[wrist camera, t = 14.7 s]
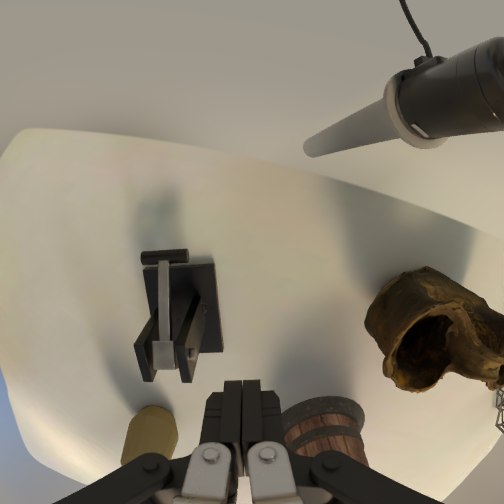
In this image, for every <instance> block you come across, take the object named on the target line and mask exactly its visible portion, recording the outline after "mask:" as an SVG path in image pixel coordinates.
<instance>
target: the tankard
mask: <svg viewBox="0 0 504 504" xmlns="http://www.w3.org/2000/svg"><path fill="white" fill-rule="evenodd" d="M281 416H282V424H283V431H284V439H285V444H286V446H287V447H288V449H290V450H291V451H292V452H294V453H296V454H298V455H302V456H309V457H314V456H316V455H317V454H318V453H320V452H323V451H327V450H336V451H340V452H342V453H344V454H346V455H348V456H350V457H351V458H353V459H355V460H357V461H358V462H360V463H362V464H364V465H365V466H367V467H369V464H368V461H367V458H366V455H365V452H364V443H363V440H362V437H361V435H360V432H361V430H362V428H363V425H364V421H365V415H364V412H363V409H362V408H361V407H360V405H359V404H357V403H356V402H355V401H353V400H350V399H348V398H344V397H338V396H327V397H318V398H314V399H310V400H307V401H304V402H301V403H299V404H297V405H295V406H293V407H291V408H289V409H288V410H286V411H285V412H284V413H282V414H281ZM369 468H370V467H369Z"/></svg>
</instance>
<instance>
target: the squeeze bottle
mask: <svg viewBox="0 0 504 504" xmlns="http://www.w3.org/2000/svg"><path fill="white" fill-rule="evenodd" d="M177 441H178V431H177V427H176V422H175V419H174V417H173V415H172V414H171V413H170V412H169V411H167V410H166V409H163V408H161V407H157V406H147V407H146V408H144V409H142V410H141V411H140V412H139V413H138V414H137V415H136V416H135V417H133V418H132V420H131V422H130V424H129V427H128V432H127V436H126V440H125V444H124V448H123V453H122V457H121V465H122V466H124V465H125V464H127V463H129V462H130V461H132V460H133V459H135V458H137V457H138V456H140V455H142V454H145V453H151V452H153V453H159V454H162V455H164V456H165V457H166V458H167V459H168V460H171V457H172V455H173V452H174V449H175V447H176V444H177Z"/></svg>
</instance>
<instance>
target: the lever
mask: <svg viewBox="0 0 504 504" xmlns="http://www.w3.org/2000/svg"><path fill="white" fill-rule="evenodd" d="M140 258H141V263H142V265H156V264H158V309H159V340H160V341H152V352H153V369H159V370H175V369H178V368H179V366H178V362H177V357H176V352H175V347H174V345H175V342H176V341H172V318H171V264H173V263H188V262H189V251H188V249H173V250H158V251H143V252H141V257H140Z"/></svg>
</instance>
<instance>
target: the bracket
mask: <svg viewBox="0 0 504 504" xmlns="http://www.w3.org/2000/svg"><path fill="white" fill-rule="evenodd" d="M143 275H144V281H145V287H146V293H147V298H148V304H149V309H150V314H151V317H150V319H149V320H148V322H147V324H146V325H145V327H144V328H143V330H142V332H141V333H140V335H139V337H138V338H137V340H136V342H135V343H134V349H135V353H136V356H137V360H138V364H139V367H140V371H141V374H142V378H143V381H144V382H153V380H154V377H155V375H156V372H157V370H158V369H153V352H152V341H160V340H159V309H158V267H146V268H145V269H144V270H143ZM171 318H172V341H176V342H175V345H174V347H175V352H176V357H177V362H178V366H179V371H180V376H181V380H182V383H192V380H193V375H194V371H195V367H196V362H197V358H198V354H199V353H214V352H223V349H224V346H223V337H222V328H221V319H220V310H219V301H218V291H217V281H216V270H215V264H198V265H181V266H171Z"/></svg>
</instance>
